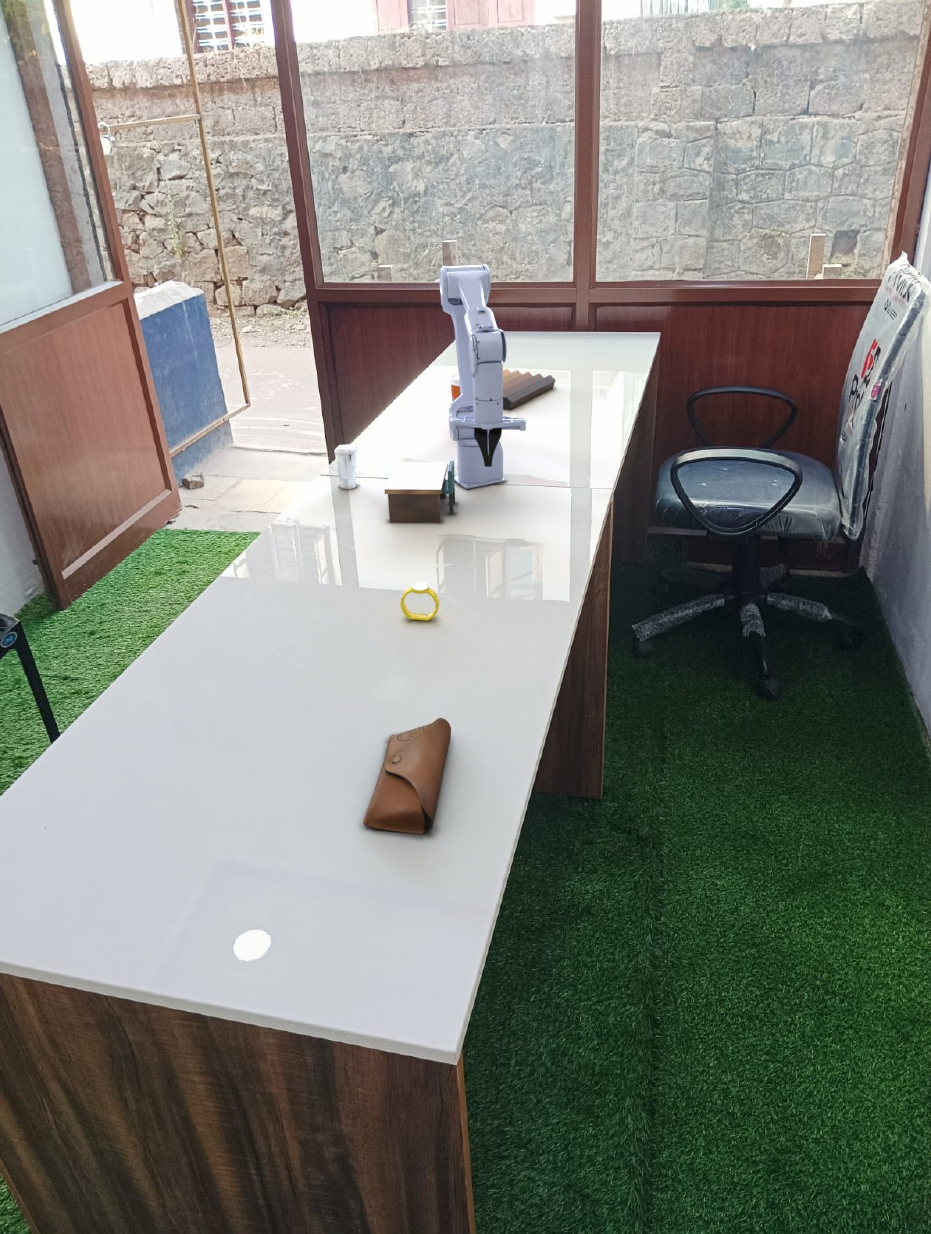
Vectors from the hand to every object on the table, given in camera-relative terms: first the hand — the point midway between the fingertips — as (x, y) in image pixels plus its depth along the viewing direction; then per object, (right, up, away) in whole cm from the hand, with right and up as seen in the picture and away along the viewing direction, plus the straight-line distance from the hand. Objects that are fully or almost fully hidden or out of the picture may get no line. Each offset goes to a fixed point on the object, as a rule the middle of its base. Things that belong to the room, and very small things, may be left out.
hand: (488, 465), depth 180 cm
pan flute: (+4, +33, +78) cm, 85 cm away
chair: (-11, -8, +5) cm, 14 cm away
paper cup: (-4, +16, +47) cm, 50 cm away
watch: (-12, -30, -34) cm, 47 cm away
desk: (-14, -8, +6) cm, 17 cm away
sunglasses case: (-11, -50, -69) cm, 86 cm away
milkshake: (-29, -2, +17) cm, 34 cm away
